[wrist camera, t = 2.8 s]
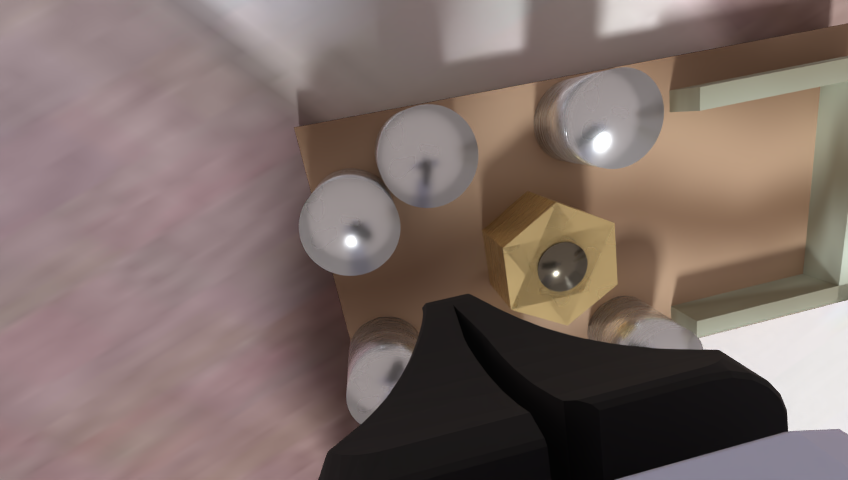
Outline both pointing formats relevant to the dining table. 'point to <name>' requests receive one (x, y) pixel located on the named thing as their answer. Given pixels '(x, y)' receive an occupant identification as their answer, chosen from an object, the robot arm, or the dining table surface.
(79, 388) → the dining table surface
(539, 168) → the tan tray
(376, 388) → the spacers
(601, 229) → the nut
